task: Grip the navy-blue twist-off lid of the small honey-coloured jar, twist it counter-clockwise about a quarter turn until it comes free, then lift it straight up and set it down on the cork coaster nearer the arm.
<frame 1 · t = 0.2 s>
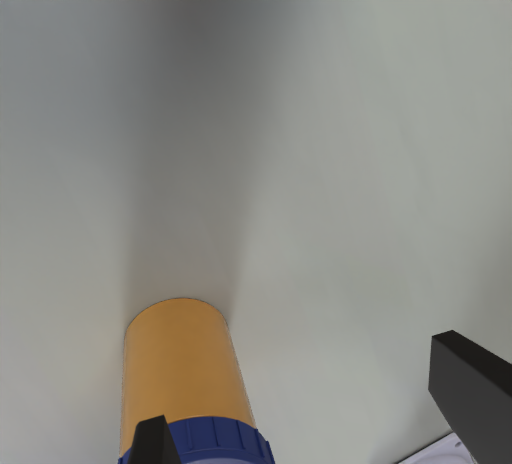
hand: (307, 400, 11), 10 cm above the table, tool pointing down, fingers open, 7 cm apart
jar: (177, 340, 22), on the table
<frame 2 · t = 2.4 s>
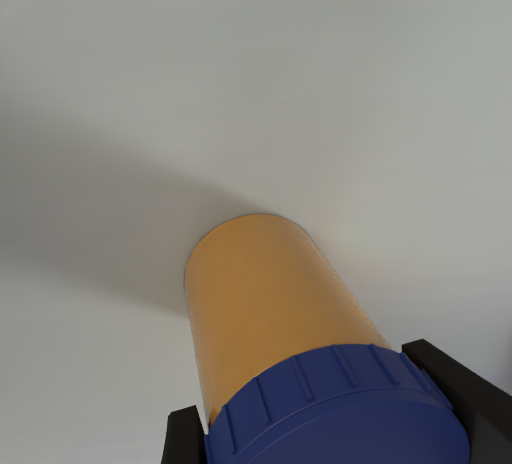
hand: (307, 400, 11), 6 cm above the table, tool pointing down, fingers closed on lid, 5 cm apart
jar: (252, 276, 17), on the table
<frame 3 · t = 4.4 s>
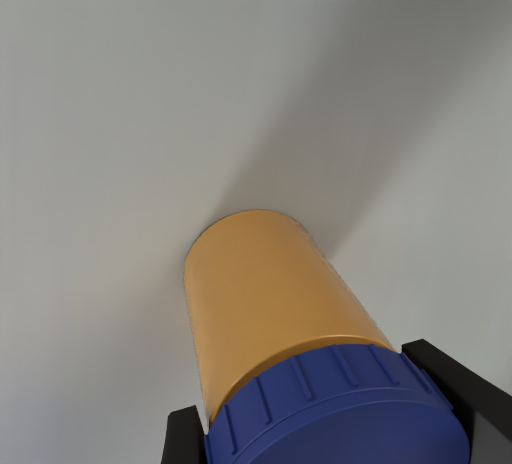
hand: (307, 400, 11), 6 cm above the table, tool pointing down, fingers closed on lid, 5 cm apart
jar: (251, 271, 17), on the table
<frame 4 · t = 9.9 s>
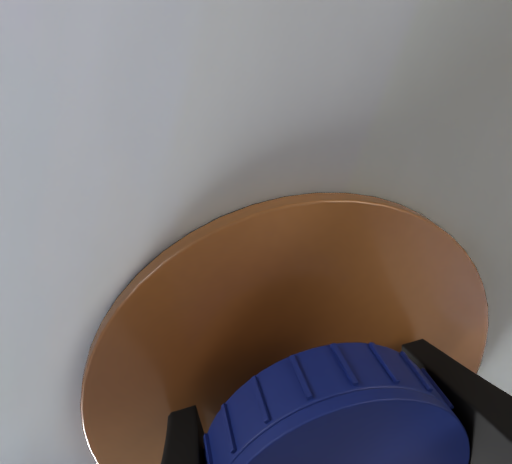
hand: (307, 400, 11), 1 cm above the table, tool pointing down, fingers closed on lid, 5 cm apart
coaster: (297, 379, 12), on the table
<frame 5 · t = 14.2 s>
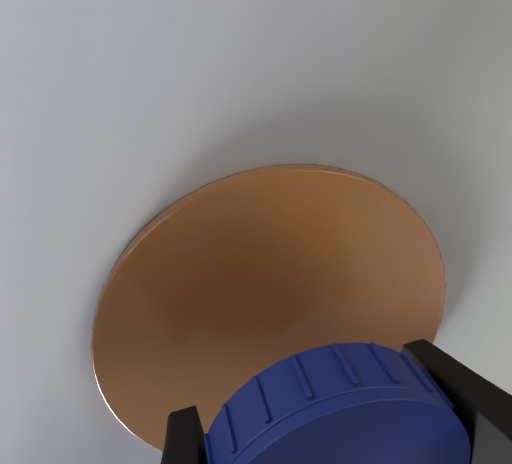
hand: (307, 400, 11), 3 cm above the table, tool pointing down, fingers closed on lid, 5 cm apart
coaster: (278, 332, 14), on the table
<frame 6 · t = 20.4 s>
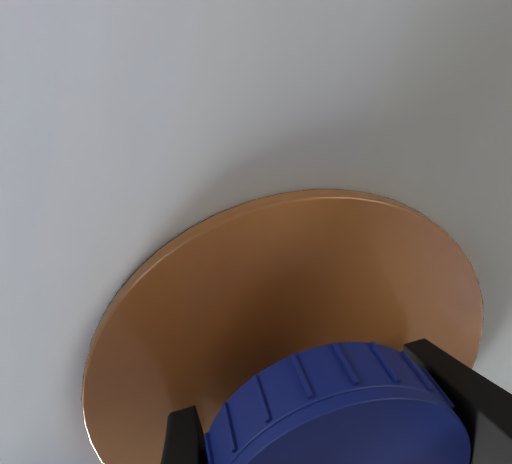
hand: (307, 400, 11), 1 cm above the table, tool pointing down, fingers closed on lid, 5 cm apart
coaster: (294, 373, 12), on the table
when the fingers open (3 cm above the table, at t = 26.2 s): lid drops 3 cm, resting on coaster.
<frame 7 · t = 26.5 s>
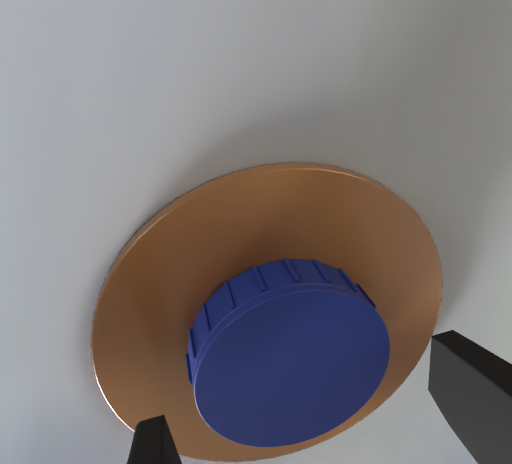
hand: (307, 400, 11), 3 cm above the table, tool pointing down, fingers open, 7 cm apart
coaster: (276, 329, 14), on the table
lid: (293, 368, 12), point 2 cm above the table, off its thread, touching coaster
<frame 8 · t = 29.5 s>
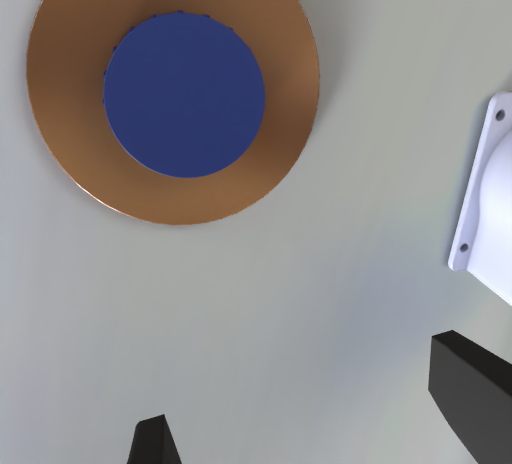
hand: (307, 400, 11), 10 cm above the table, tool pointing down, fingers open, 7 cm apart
coaster: (183, 93, 17), on the table
lid: (187, 100, 16), point 2 cm above the table, off its thread, touching coaster
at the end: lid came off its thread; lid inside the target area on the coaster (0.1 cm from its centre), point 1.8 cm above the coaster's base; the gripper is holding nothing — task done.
